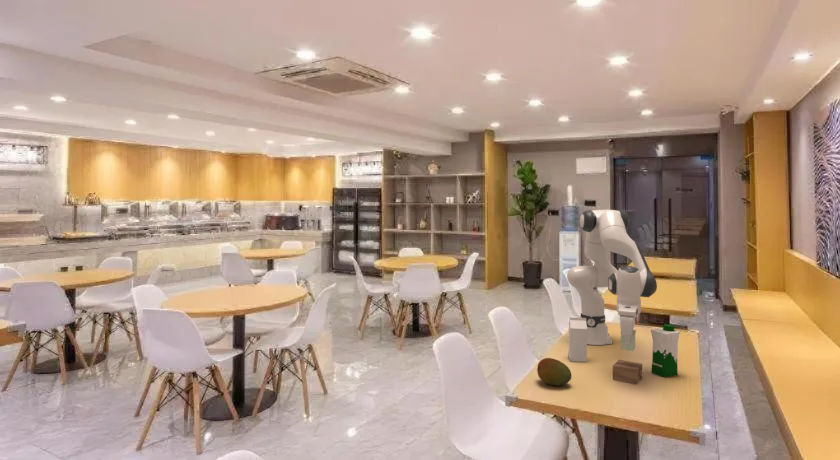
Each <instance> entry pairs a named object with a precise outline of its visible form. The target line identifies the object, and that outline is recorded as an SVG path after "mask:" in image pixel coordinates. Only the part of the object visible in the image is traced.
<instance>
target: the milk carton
mask: <svg viewBox="0 0 840 460" xmlns="http://www.w3.org/2000/svg"><path fill="white" fill-rule="evenodd" d="M568 358H569V361H570V362H579V363H581V362H582V363H587V362H588V344H587V323H586V318H580V317H569V322H568Z"/></svg>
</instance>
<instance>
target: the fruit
mask: <svg viewBox="0 0 840 460" xmlns="http://www.w3.org/2000/svg"><path fill="white" fill-rule="evenodd" d="M536 371H537V372H536V373H537V375H538V378H539V379H540V380H541V381H542V382H543V383H546V384H547V385H552V386H563V385H566V384H568V383H569V382H570V381H571V380H572V372H571V370H570V367H568V365H566V364H565V363H564V362H562V361H560V360H558V359H556V358H551V357H544V358H542V359H541V360H540V361H539V362H538V364H537V369H536Z"/></svg>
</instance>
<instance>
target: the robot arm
mask: <svg viewBox="0 0 840 460" xmlns="http://www.w3.org/2000/svg"><path fill="white" fill-rule="evenodd" d="M579 224H580V227H581V229H582V231H584V232H586V235H585V242H584V250H583V251H584V256H585V257H586V258H587V259H588V260H590V261H592V262H594V263H593V264H594V265H578V266H573V267H571V268H570V269H569V270H568V272H567V282H568V283H569V284H570V285H571V286H572V287H573V288H574V289H575V290H576V291H577V292H578V294H579V297H580V305H581V306H580V307H581V308H580V309H581V312H580V317H579V318H586V323H587V345H591V346H604V345H613V340H612V338H611V336H610V333H609V327H608V325H606V315H605V300H604V298H603V297H602V296H601V295H599V294H597V293H596V292H594V288H607V289H608V291H609V292H610V293H611V294H613V295H615V296H617V297H616V312H617V315H618V316H619V322H620V323H619V325H620V326H619V327H620V335H621V334H622V335H624V336H625V344H628V345H629V344H630V336H632V332H633V330H635V329H634V328H635V324H636V323H635V322H636V318H637V317H638V315H639V314H641V313H642V306H641V305H642V300H641V298H651V296H653V295H654V294H655V293H656V292H657V289H658V284H657V283H658V282H657V279H656V277H655V275H654V274H653V273H652V271H651V270H650V268H649V264H648V262H647V261H646V258H645V256H644V254H643V252H642V249H641V247H640V246H639V244H638V242H637V241H635V240H633V239H632V238H631V237H630V236H629V234H628V233H627V230H628V228H629V225H630V217H629V214H628V213H627V211H624V210H619V209H618V210H615V209H606V208H605V209H593V210H592V209H588V210H583V212H582V213H581V215H580V218H579ZM609 252H611V253H614V254H618V255H621V256H624V257H626V258H628V259H630V260H631V262H632V263H633V266H631V265H623V266H620V267H619V268H616V267H615V266H614V265H613V264H612V263H611V262H610V259H609Z"/></svg>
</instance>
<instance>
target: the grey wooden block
mask: <svg viewBox="0 0 840 460" xmlns="http://www.w3.org/2000/svg"><path fill="white" fill-rule="evenodd" d="M636 332H637V330H636V329H633V332H632V336H630V344H629V345H628V344H625V336H624V335H622V334H621V333H620V350H624V351H632V352H635V351H636Z"/></svg>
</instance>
